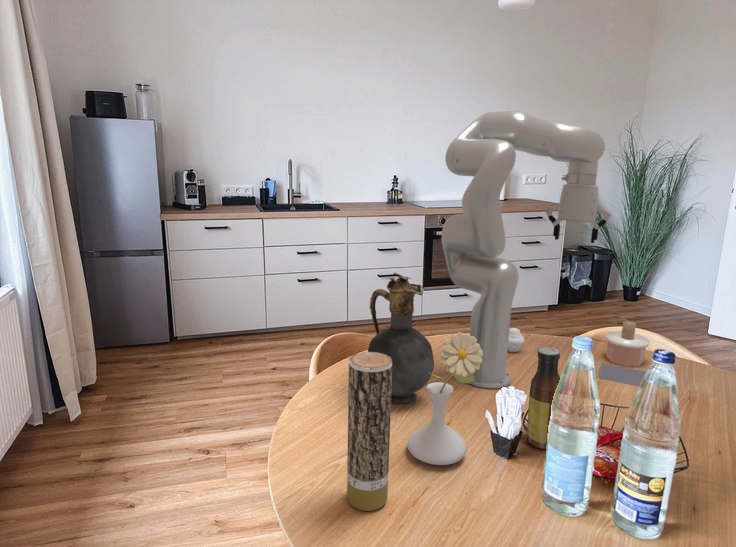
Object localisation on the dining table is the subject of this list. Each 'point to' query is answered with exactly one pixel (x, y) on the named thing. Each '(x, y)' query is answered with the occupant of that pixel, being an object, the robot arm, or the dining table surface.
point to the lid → (627, 337)
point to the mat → (621, 374)
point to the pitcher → (402, 341)
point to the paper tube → (368, 429)
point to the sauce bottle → (542, 396)
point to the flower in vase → (437, 437)
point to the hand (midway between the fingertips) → (574, 240)
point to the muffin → (515, 340)
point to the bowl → (625, 355)
